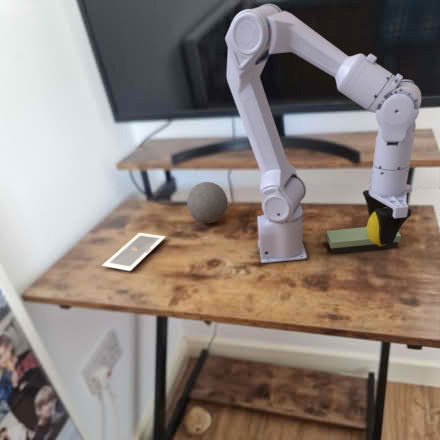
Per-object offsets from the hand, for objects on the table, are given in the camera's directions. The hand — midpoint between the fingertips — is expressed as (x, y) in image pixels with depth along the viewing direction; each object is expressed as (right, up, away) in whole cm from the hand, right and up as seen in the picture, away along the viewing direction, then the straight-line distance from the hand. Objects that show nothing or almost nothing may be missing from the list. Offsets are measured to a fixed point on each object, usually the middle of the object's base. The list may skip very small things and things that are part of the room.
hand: (381, 235), depth 76 cm
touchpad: (-50, -2, +18) cm, 53 cm away
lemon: (0, -2, +2) cm, 3 cm away
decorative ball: (-33, +7, +27) cm, 43 cm away
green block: (0, -1, +10) cm, 10 cm away
